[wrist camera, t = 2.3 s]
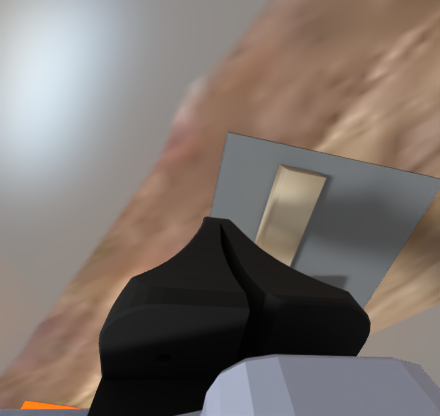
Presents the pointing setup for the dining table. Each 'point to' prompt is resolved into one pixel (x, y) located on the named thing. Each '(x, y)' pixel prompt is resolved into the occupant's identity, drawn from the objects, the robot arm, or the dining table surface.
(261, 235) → the link
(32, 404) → the orange juice
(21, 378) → the dining table surface
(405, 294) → the dining table surface
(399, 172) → the board
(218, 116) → the dining table surface
